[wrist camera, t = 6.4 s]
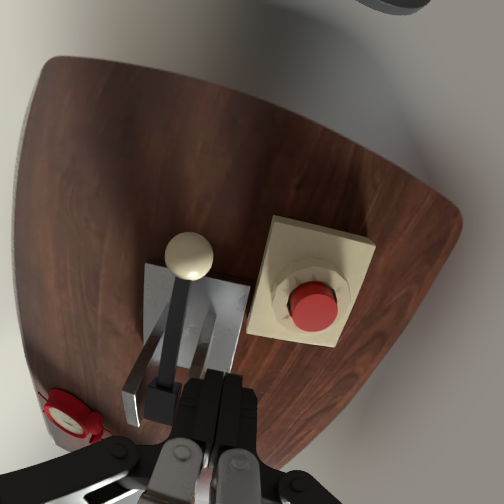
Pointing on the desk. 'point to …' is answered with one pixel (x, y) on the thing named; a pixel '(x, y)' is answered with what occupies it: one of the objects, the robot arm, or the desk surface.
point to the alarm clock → (73, 416)
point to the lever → (176, 322)
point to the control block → (306, 277)
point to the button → (313, 307)
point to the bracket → (186, 329)
